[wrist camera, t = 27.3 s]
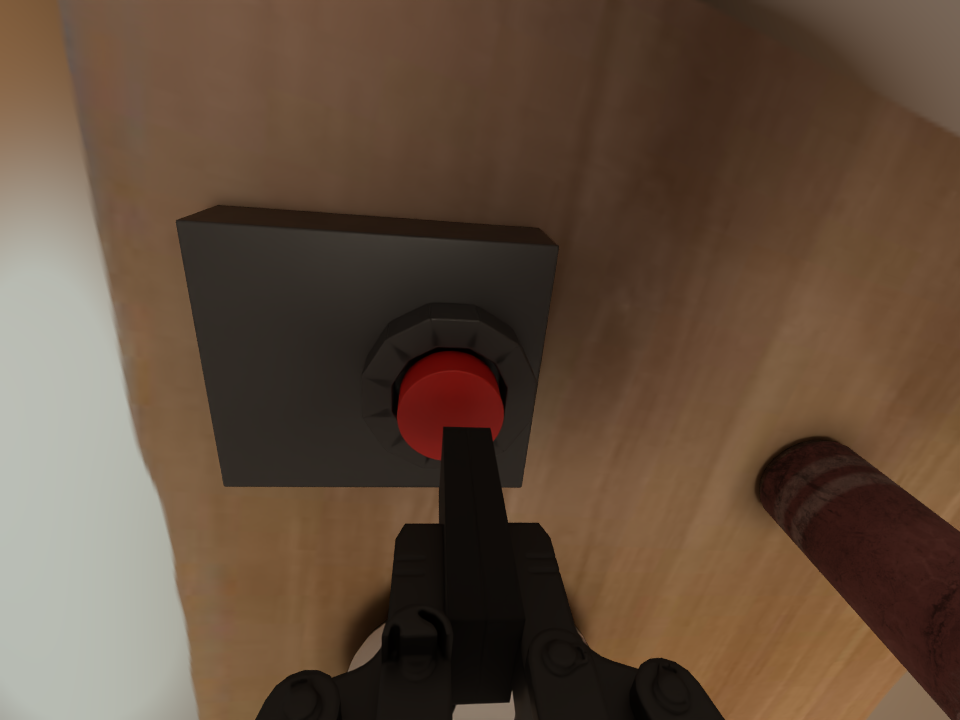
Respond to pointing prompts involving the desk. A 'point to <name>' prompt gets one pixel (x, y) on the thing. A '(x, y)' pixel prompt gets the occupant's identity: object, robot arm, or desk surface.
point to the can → (876, 555)
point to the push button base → (355, 336)
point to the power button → (447, 399)
